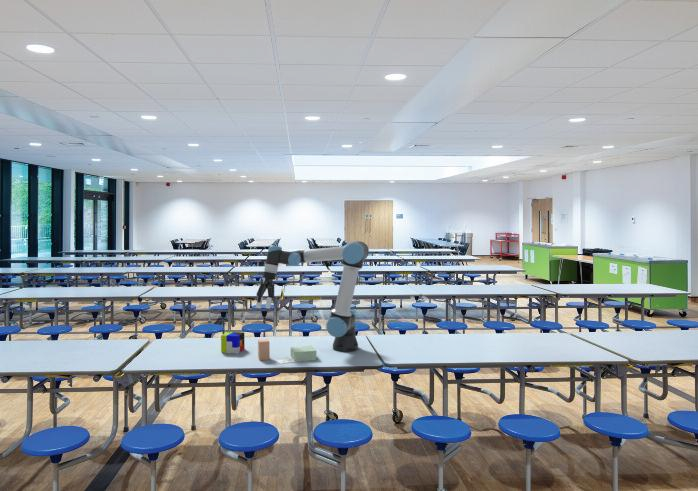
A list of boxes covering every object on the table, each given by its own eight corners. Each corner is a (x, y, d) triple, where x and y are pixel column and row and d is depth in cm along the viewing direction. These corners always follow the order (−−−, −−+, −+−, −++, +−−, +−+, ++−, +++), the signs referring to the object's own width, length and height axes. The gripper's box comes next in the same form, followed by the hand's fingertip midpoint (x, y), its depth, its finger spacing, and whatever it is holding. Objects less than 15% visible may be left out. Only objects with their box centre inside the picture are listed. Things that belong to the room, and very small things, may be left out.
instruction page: (293, 358, 282) (293, 357, 282) (297, 361, 276) (297, 361, 276) (275, 360, 278) (275, 360, 278) (279, 363, 272) (279, 363, 272)
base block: (311, 354, 291) (311, 345, 291) (316, 359, 280) (316, 350, 279) (290, 355, 288) (290, 347, 287) (294, 361, 276) (294, 352, 276)
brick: (268, 356, 286) (268, 339, 285) (269, 359, 281) (269, 341, 280) (258, 357, 284) (258, 339, 284) (259, 360, 279) (259, 341, 278)
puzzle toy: (237, 353, 293) (237, 336, 293) (221, 352, 295) (221, 335, 295) (244, 349, 303) (244, 332, 303) (228, 348, 305) (228, 331, 305)
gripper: (272, 272, 311) (265, 307, 309) (255, 269, 287) (247, 306, 285) (284, 274, 309) (277, 309, 307) (267, 271, 285) (260, 309, 283)
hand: (262, 308), depth 296 cm, fingers open, 13 cm apart
